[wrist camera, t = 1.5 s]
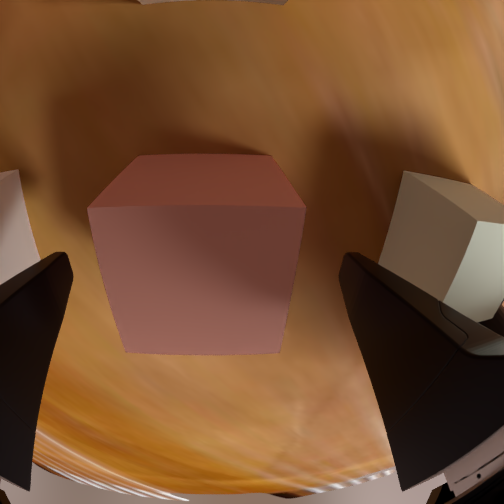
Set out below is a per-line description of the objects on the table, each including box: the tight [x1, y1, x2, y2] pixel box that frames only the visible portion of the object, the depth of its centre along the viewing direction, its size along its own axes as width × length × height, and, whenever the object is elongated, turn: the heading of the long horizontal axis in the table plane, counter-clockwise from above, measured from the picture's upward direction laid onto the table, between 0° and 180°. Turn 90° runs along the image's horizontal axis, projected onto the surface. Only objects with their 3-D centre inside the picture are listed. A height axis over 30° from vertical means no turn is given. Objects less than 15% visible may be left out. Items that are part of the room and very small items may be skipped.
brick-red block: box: [87, 154, 307, 355], centre depth 10 cm, size 5×5×5 cm
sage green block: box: [378, 171, 504, 322], centre depth 11 cm, size 5×5×5 cm
